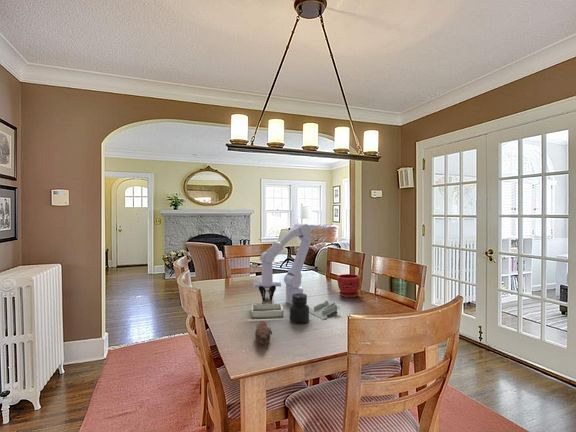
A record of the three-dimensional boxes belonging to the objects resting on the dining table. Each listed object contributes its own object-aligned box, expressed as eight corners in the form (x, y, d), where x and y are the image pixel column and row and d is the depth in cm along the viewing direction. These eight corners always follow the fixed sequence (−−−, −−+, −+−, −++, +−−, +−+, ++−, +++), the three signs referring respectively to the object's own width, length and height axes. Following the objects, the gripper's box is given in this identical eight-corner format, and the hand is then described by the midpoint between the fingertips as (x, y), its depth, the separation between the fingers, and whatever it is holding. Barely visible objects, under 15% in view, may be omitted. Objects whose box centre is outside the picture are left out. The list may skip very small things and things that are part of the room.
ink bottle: (313, 320, 146) (313, 295, 146) (302, 326, 139) (301, 299, 139) (297, 316, 152) (297, 291, 152) (285, 321, 146) (285, 295, 145)
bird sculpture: (269, 327, 138) (269, 316, 138) (274, 353, 113) (274, 339, 113) (254, 328, 137) (254, 316, 137) (256, 354, 112) (256, 340, 112)
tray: (281, 310, 162) (281, 303, 162) (283, 317, 150) (283, 310, 150) (251, 311, 161) (251, 304, 161) (251, 319, 149) (251, 311, 149)
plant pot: (352, 292, 198) (352, 272, 197) (363, 297, 185) (364, 277, 185) (333, 293, 193) (333, 274, 193) (343, 299, 181) (344, 278, 181)
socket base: (274, 304, 172) (274, 299, 172) (275, 309, 164) (275, 304, 164) (259, 305, 171) (259, 300, 171) (259, 309, 163) (259, 304, 163)
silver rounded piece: (271, 303, 170) (271, 285, 170) (271, 306, 166) (271, 287, 165) (262, 303, 169) (262, 286, 169) (263, 306, 165) (263, 288, 165)
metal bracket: (325, 297, 166) (343, 304, 153) (328, 307, 167) (346, 315, 154) (303, 308, 160) (319, 317, 147) (306, 319, 161) (322, 328, 148)
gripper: (279, 272, 172) (280, 297, 172) (253, 273, 170) (253, 298, 170) (281, 275, 165) (281, 301, 165) (253, 276, 163) (253, 302, 163)
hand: (267, 300), depth 167 cm, fingers closed on silver rounded piece, 4 cm apart
